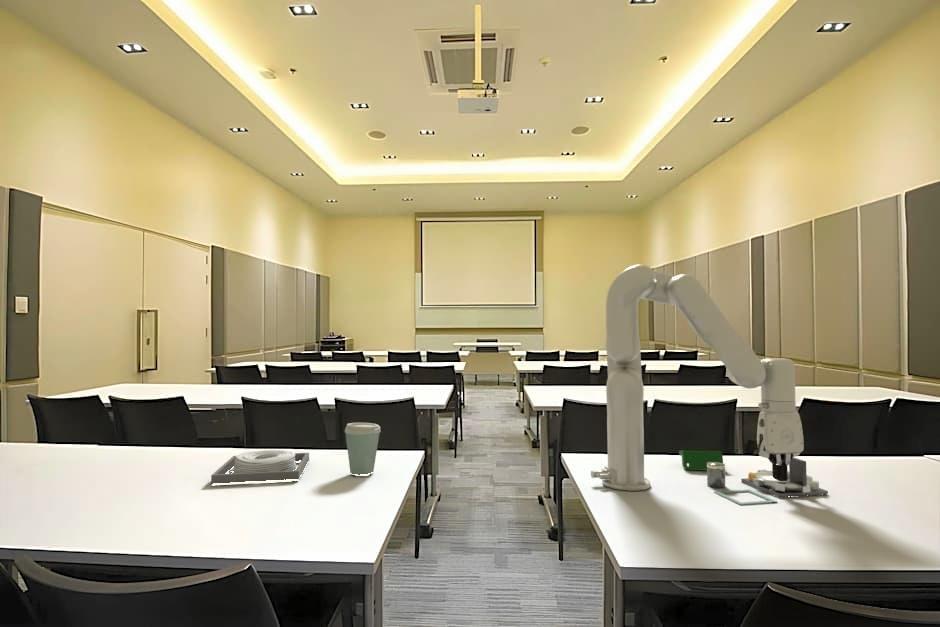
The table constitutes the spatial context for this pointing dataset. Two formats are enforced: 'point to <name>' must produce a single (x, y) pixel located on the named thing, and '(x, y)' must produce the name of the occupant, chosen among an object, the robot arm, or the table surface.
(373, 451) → the disposable coffee cup
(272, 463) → the cable
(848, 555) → the table surface
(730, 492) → the seat bay
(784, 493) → the sprocket base
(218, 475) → the cable tray
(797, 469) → the sprocket
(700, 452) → the green mounting bracket
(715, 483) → the silver metal cylinder
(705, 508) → the table surface
